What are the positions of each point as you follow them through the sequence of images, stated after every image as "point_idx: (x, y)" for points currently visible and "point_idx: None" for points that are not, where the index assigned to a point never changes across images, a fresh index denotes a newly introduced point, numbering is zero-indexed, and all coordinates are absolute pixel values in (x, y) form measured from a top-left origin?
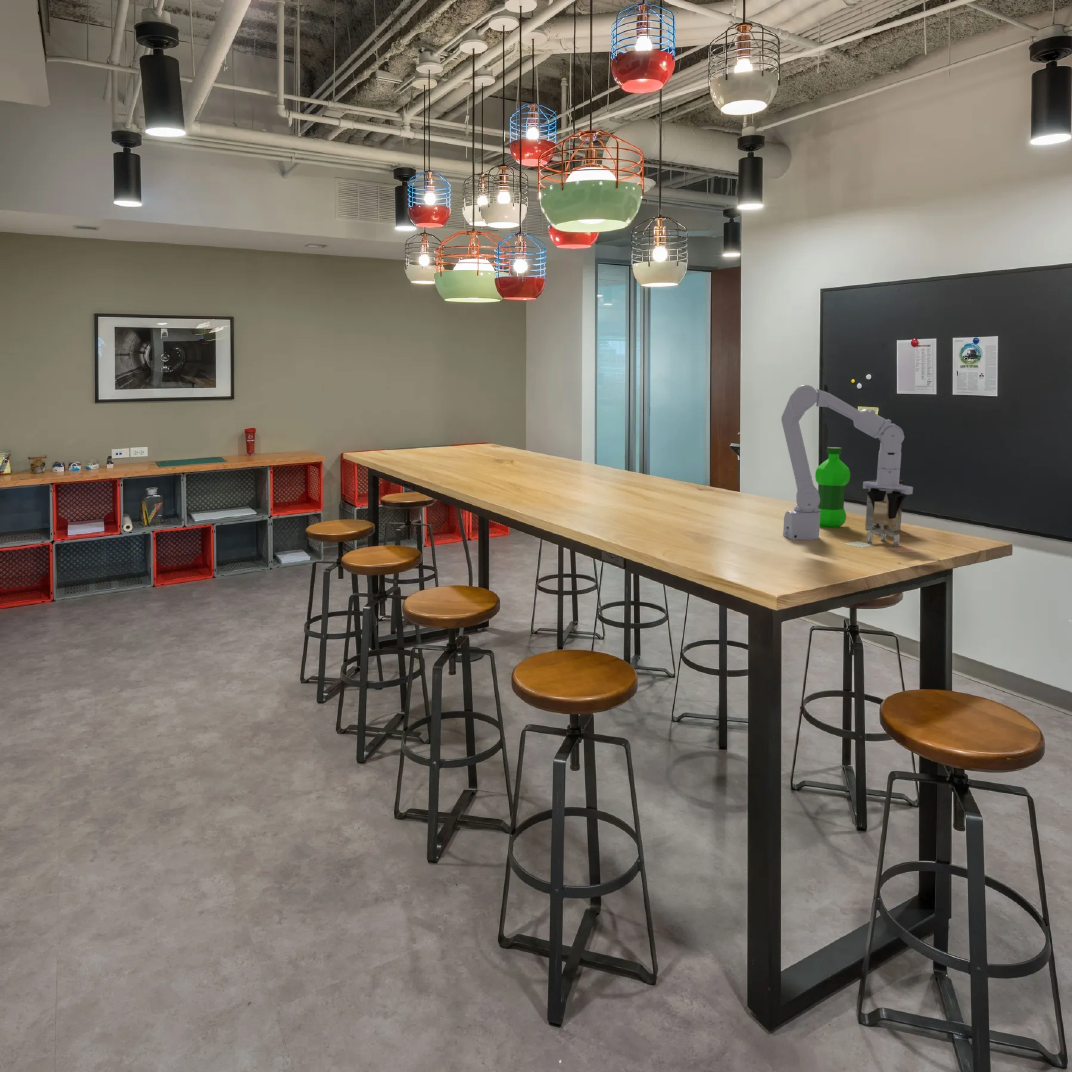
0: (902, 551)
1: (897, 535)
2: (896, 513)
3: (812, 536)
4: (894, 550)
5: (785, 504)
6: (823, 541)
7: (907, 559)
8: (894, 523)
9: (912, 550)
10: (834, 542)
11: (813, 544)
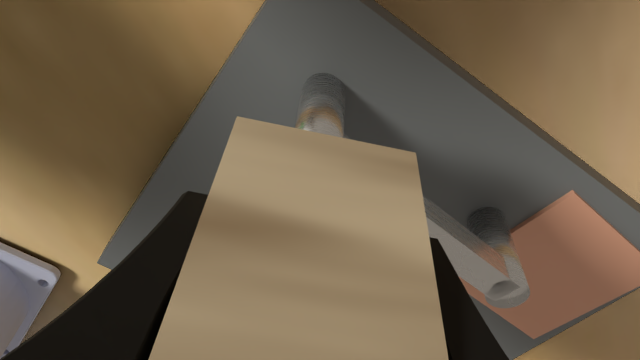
0: (560, 313)
1: (515, 304)
2: (458, 288)
3: (13, 335)
4: (511, 315)
5: None
6: (7, 224)
7: (594, 334)
8: (413, 162)
9: (614, 263)
10: (64, 209)
11: (58, 312)
